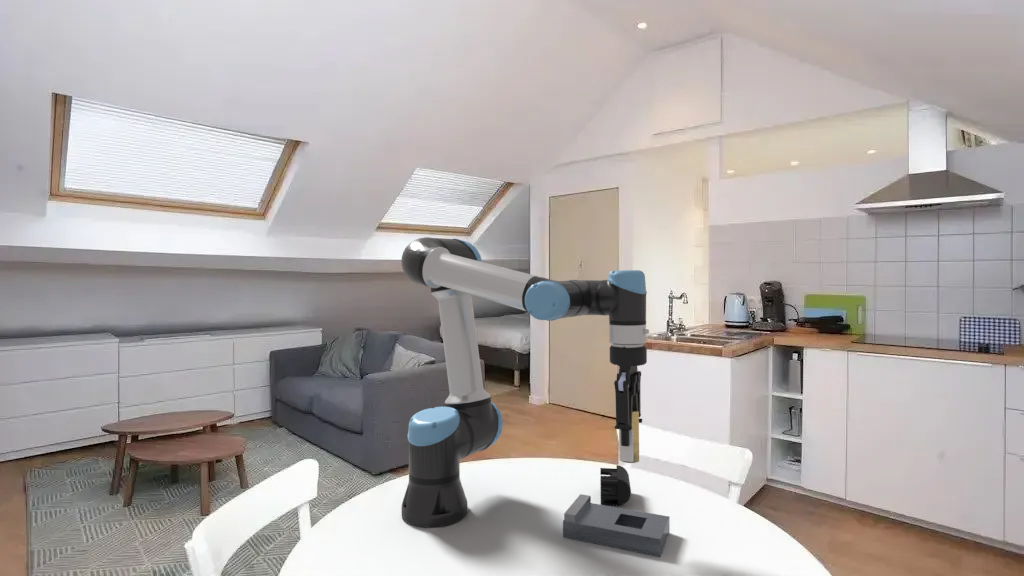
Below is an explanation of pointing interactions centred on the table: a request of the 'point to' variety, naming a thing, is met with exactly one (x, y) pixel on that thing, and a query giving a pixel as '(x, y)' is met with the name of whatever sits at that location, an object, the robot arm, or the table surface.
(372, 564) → the table surface
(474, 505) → the table surface
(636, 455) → the brass cylinder rod
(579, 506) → the jig
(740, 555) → the table surface
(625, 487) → the end cap
